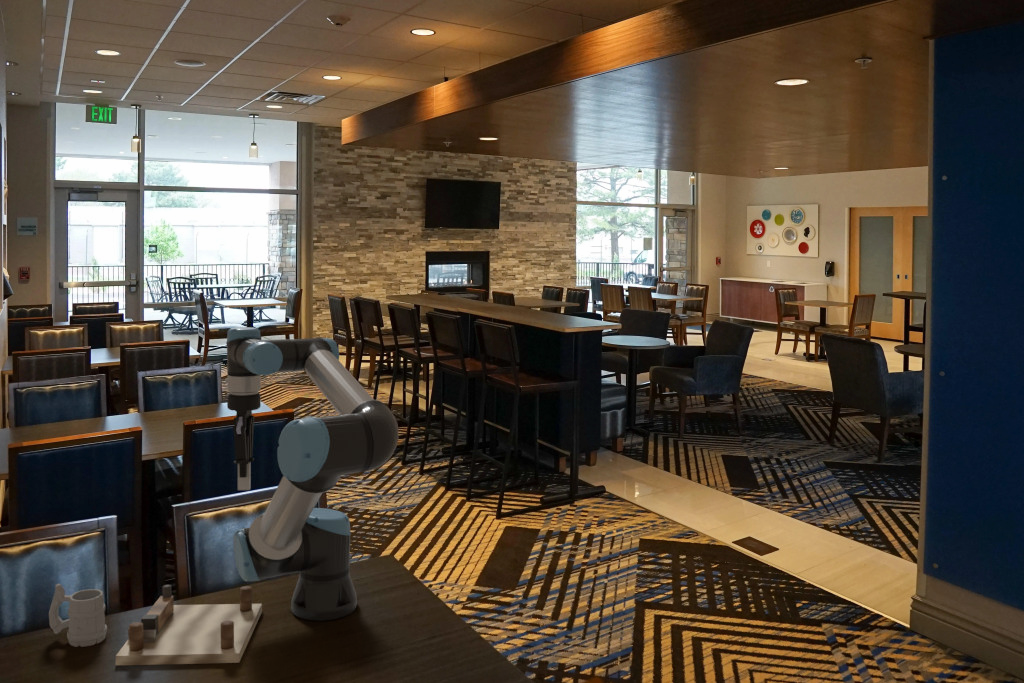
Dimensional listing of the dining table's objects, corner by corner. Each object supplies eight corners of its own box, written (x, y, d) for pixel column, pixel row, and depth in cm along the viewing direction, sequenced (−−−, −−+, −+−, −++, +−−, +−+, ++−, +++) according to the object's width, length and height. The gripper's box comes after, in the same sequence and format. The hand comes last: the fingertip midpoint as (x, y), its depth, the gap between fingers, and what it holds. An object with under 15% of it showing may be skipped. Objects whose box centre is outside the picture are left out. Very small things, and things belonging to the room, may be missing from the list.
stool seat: (262, 611, 190) (262, 582, 190) (239, 662, 167) (239, 629, 166) (154, 613, 188) (154, 584, 187) (115, 665, 164) (115, 632, 163)
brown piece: (161, 609, 185) (161, 584, 184) (174, 609, 185) (174, 584, 184) (141, 637, 171) (141, 611, 170) (155, 637, 171) (155, 610, 171)
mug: (96, 648, 171) (95, 592, 170) (39, 646, 170) (38, 591, 169) (114, 631, 178) (113, 578, 177) (59, 630, 178) (57, 577, 177)
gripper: (233, 387, 200) (234, 481, 203) (221, 396, 187) (221, 497, 190) (265, 388, 201) (265, 481, 204) (254, 397, 188) (254, 497, 191)
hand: (244, 489), depth 197 cm, fingers closed
